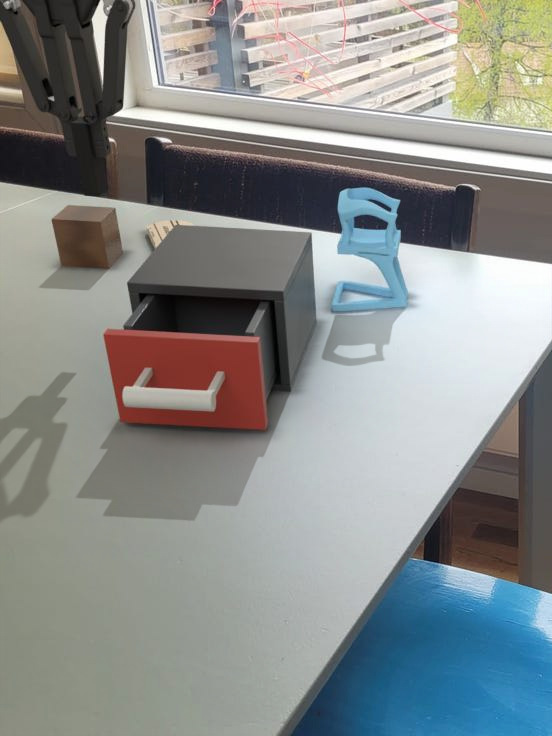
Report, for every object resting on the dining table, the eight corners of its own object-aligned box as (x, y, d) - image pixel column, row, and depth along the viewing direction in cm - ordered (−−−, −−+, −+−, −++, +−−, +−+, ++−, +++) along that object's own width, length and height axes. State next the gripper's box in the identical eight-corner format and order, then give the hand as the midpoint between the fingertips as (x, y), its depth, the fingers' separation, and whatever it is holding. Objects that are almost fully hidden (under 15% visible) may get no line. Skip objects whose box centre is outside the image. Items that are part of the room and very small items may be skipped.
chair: (406, 316, 110) (406, 203, 103) (331, 313, 110) (325, 199, 102) (409, 291, 116) (410, 182, 109) (338, 288, 116) (333, 178, 108)
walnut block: (61, 268, 117) (51, 219, 113) (77, 253, 121) (67, 204, 117) (109, 271, 117) (100, 221, 113) (123, 255, 121) (115, 207, 117)
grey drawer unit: (291, 394, 94) (283, 291, 88) (144, 386, 94) (126, 282, 88) (316, 326, 107) (311, 232, 101) (188, 319, 107) (175, 224, 101)
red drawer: (252, 462, 82) (243, 372, 77) (99, 454, 81) (79, 363, 76) (295, 356, 98) (289, 276, 93) (167, 349, 98) (154, 269, 93)
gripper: (-57, -107, 81) (16, 199, 96) (102, -97, 81) (150, 207, 96) (-17, -111, 87) (46, 178, 102) (131, -102, 87) (172, 185, 101)
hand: (96, 192), depth 99 cm, fingers closed
